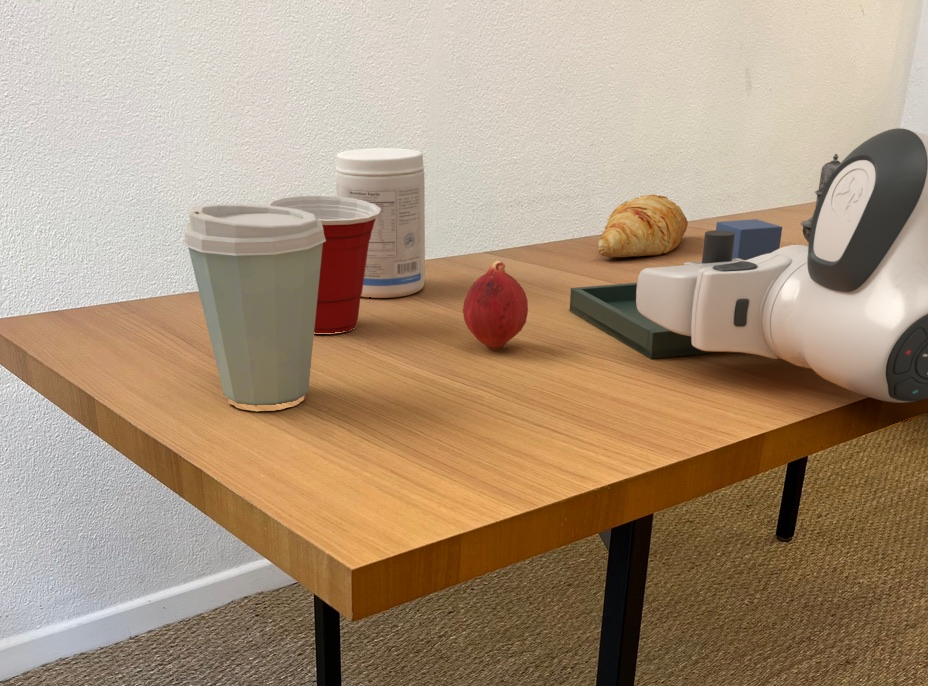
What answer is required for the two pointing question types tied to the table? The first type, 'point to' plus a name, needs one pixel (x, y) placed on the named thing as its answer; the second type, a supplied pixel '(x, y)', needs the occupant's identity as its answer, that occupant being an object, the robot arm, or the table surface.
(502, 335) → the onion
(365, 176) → the supplement tub
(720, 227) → the block
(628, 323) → the tray
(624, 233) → the croissant
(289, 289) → the disposable coffee cup
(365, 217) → the plastic cup
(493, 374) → the table surface
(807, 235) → the salt shaker
